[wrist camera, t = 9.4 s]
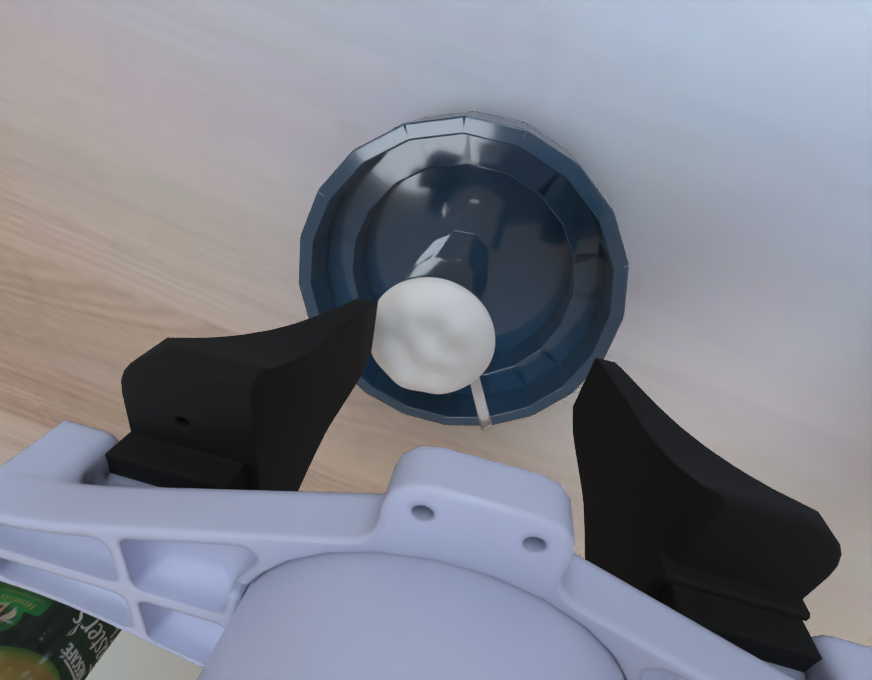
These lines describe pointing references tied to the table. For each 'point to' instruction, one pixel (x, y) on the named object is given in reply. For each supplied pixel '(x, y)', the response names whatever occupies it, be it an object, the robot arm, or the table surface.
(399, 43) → the table surface
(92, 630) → the coffee jar
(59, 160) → the table surface
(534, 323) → the bowl
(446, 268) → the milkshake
